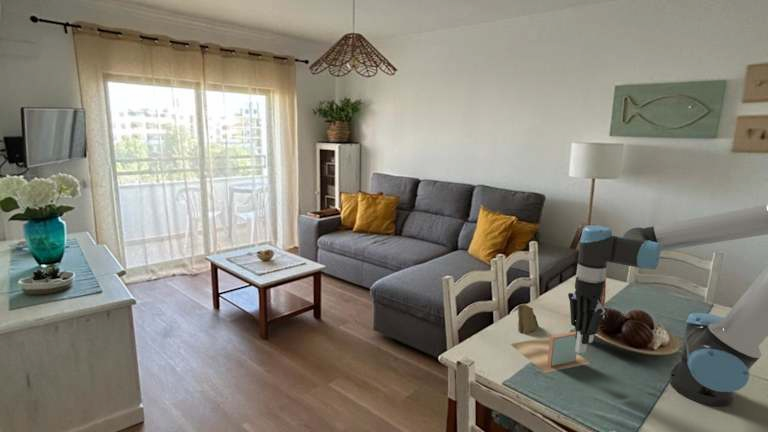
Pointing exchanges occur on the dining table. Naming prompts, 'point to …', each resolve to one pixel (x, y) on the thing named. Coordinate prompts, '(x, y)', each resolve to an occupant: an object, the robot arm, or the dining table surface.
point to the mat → (543, 354)
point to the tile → (562, 349)
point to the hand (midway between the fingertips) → (580, 351)
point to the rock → (526, 319)
